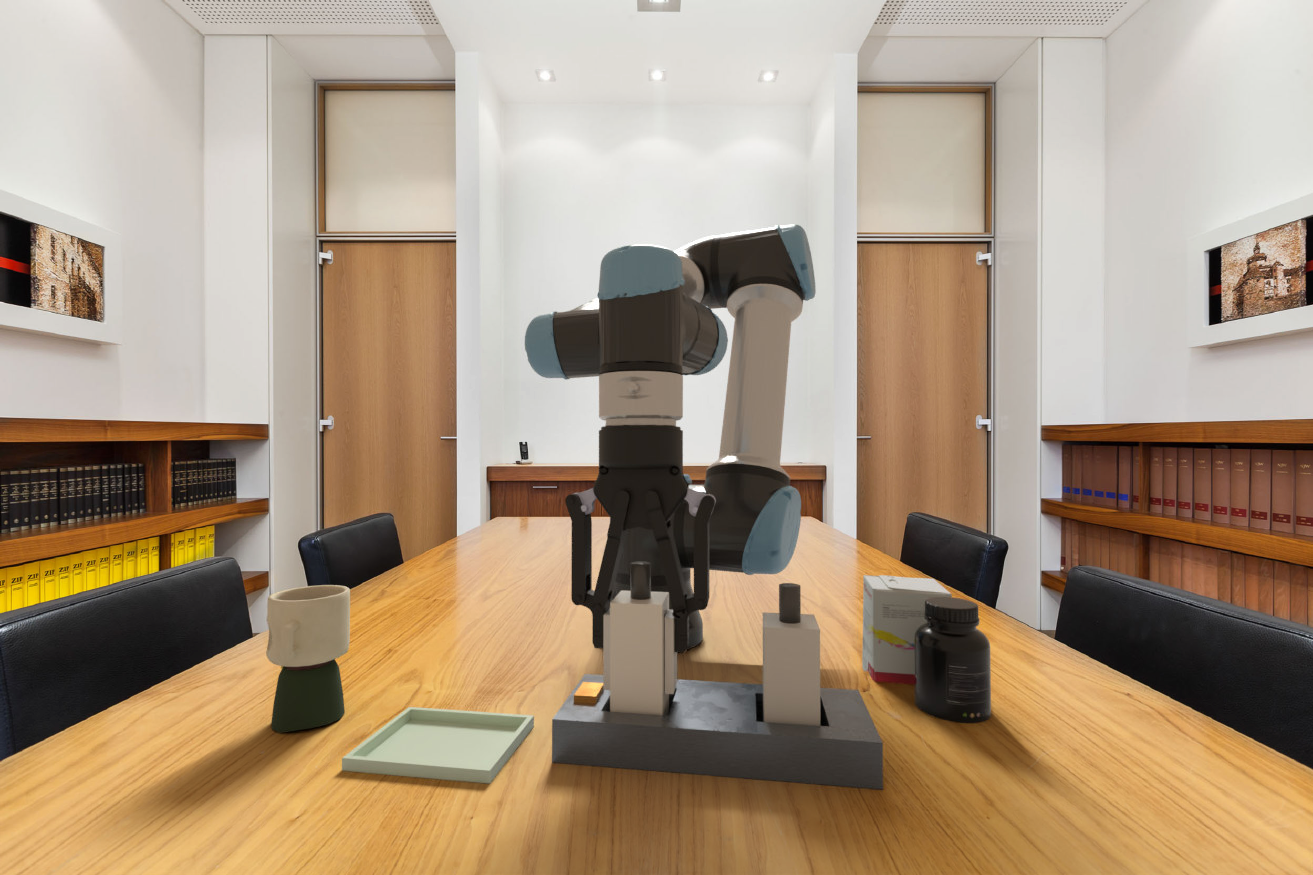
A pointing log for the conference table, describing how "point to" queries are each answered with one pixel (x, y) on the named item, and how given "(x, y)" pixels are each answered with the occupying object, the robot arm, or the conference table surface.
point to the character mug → (308, 654)
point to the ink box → (894, 624)
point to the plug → (638, 646)
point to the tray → (441, 745)
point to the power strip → (722, 736)
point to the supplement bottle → (952, 662)
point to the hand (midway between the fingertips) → (640, 685)
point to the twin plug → (791, 662)
